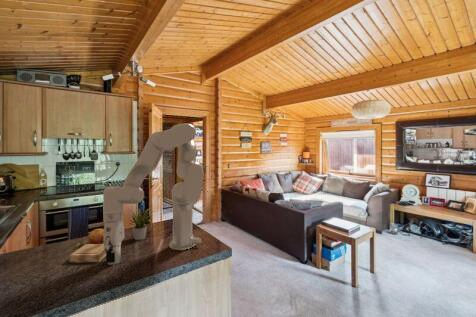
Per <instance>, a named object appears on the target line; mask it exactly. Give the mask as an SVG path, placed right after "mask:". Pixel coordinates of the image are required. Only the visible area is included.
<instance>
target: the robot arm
mask: <svg viewBox="0 0 476 317" xmlns="http://www.w3.org/2000/svg"><path fill="white" fill-rule="evenodd" d="M196 134H197V130H196V128H195V126H194V125H193V124H191V123H188V122H187V123H186V122H185V123H179V124H174V125H173V126H171V128H169V129H166V130H162V131H161V130H160V131H155V132H152V133H150V136H149V137H148V139H147V141H146V143H145V145H144V148H143V149H142V151H141V153H140V156H139V157H138V159H137V161H136V162H135V163H134V165H133V166H132V168H131V169H130V171H129V172H128V173H127V175H126V178H125V179H124V182H123V184H122V186H108V187H106V188H104V190H103V193H102V196H103V198H102V199H103V201H102V202H103V204H102V205H103V206H102V207H103V212H102V213H103V214H102V215H103V222H104V223H103V229H104V238H103V241H104V242H103V244H104V250H105V251H106V256H105V257H106V259H105V261H106V264H107V263H112V262H115V252H114V246H117V245H118V244H119V243H120V242H121V243H122V241H123V240H124V239H125V223H124V204H126V205H135V204H138V203H141V202H142V201H143V200H144V197H145V191H144V189H143V188H141V185H142V183H143V182H144V180H145V179H146V177H147V176H148V175H150V174H151V173H152V172H154V171H155V170H156V169H157V167H158V165H159V163H160V160H161V159H162V156H163V155H164V152H165V151H168V150H171V149H172V150H173V149H175V148H178V159H177V164H176V165H177V166H176V174H177V177H178V178H180V179H181V180H183V181H181V182H180V181H179V182H177V183H175V184H174V185H173V187H172V189H171V200H172V201H171V202H172V241H171V242H170V243H169V246H168V247H169V248H170V249H171V250H174V251H186V249H188V250H191V249H193V248H194V247H195V246H196V243H197V244H198V243H199V244H200V243H202V238H200V237H199V236H198V237H195V236H194V234H193V212H194V211H193V205H196V204H197V203H198V202H199V201H200V199H201V197H202V190H203V184H204V169H203V168H204V167H203V166H202V165H201V163H199V161H198V162H197V146H196V143H195V140H194V139H195V137H196V136H197V135H196ZM109 244H112V245H109ZM109 247H112V249H111V248H109ZM192 247H193V248H192ZM190 248H191V249H190Z"/></svg>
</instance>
